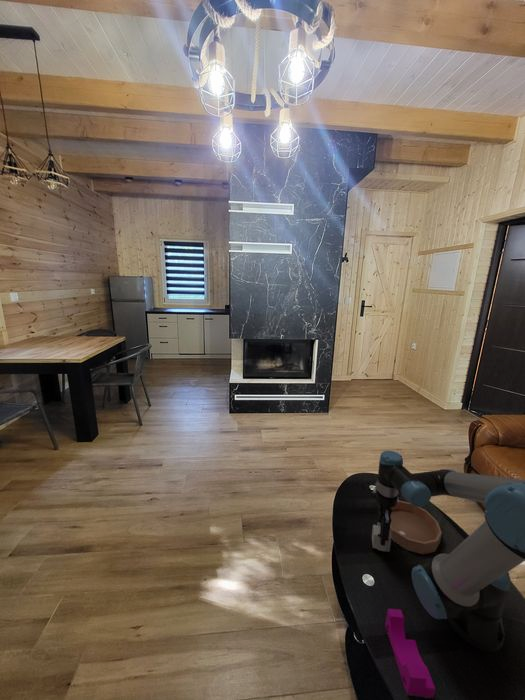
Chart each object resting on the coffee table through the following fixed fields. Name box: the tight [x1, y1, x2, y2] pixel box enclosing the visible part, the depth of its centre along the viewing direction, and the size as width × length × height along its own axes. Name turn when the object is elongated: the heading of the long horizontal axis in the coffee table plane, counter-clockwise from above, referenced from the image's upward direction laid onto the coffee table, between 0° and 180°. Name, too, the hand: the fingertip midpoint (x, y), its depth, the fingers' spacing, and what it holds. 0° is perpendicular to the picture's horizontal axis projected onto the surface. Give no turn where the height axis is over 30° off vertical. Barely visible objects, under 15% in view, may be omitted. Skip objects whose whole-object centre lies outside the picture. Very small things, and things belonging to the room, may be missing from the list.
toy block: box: [384, 608, 436, 698], centre depth 76 cm, size 15×6×8 cm, turn 176°
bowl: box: [390, 500, 443, 555], centre depth 119 cm, size 22×22×5 cm
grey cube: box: [371, 524, 392, 553], centre depth 109 cm, size 5×6×6 cm
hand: (380, 543), depth 110 cm, fingers closed on grey cube, 5 cm apart
